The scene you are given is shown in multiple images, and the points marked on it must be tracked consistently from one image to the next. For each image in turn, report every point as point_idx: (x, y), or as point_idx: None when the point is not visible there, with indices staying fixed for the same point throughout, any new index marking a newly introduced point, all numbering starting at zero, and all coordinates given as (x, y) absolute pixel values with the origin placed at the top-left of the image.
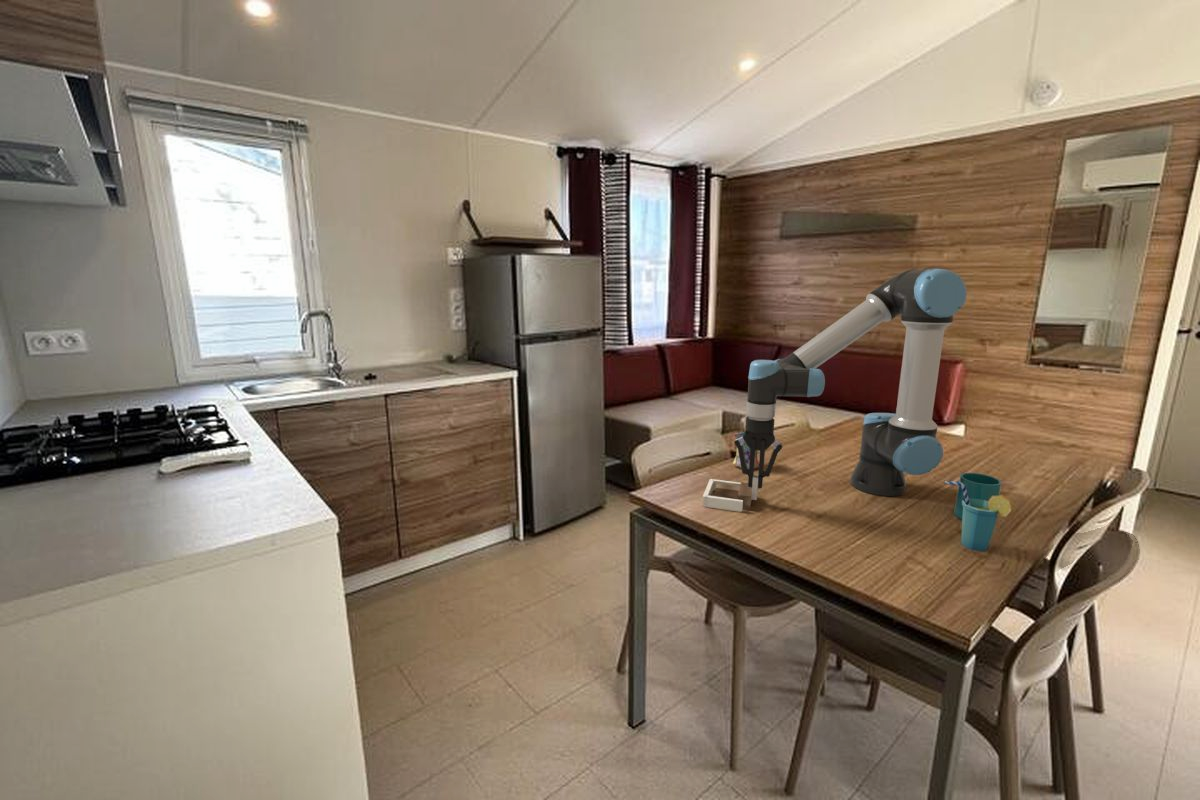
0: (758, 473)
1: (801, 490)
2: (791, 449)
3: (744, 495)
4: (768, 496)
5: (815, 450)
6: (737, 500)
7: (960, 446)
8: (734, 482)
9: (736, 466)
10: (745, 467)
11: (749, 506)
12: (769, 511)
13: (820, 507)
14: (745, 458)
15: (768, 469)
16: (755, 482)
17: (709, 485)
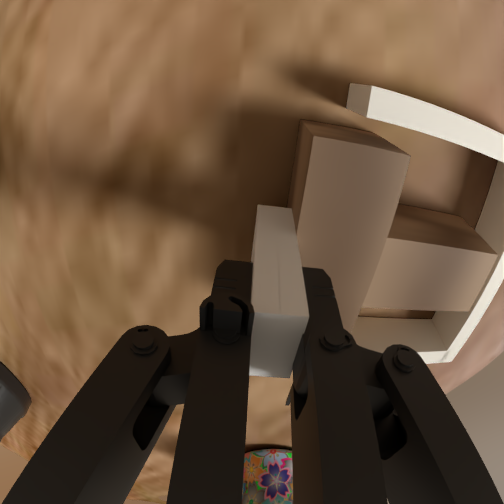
0: (249, 358)
1: (95, 363)
2: None
3: (363, 148)
4: (195, 311)
5: (136, 479)
6: (404, 108)
7: (5, 443)
8: None
9: None
10: (410, 407)
11: (306, 124)
12: (182, 131)
13: (10, 246)
14: (277, 476)
15: (117, 397)
16: (276, 282)
17: (485, 299)
